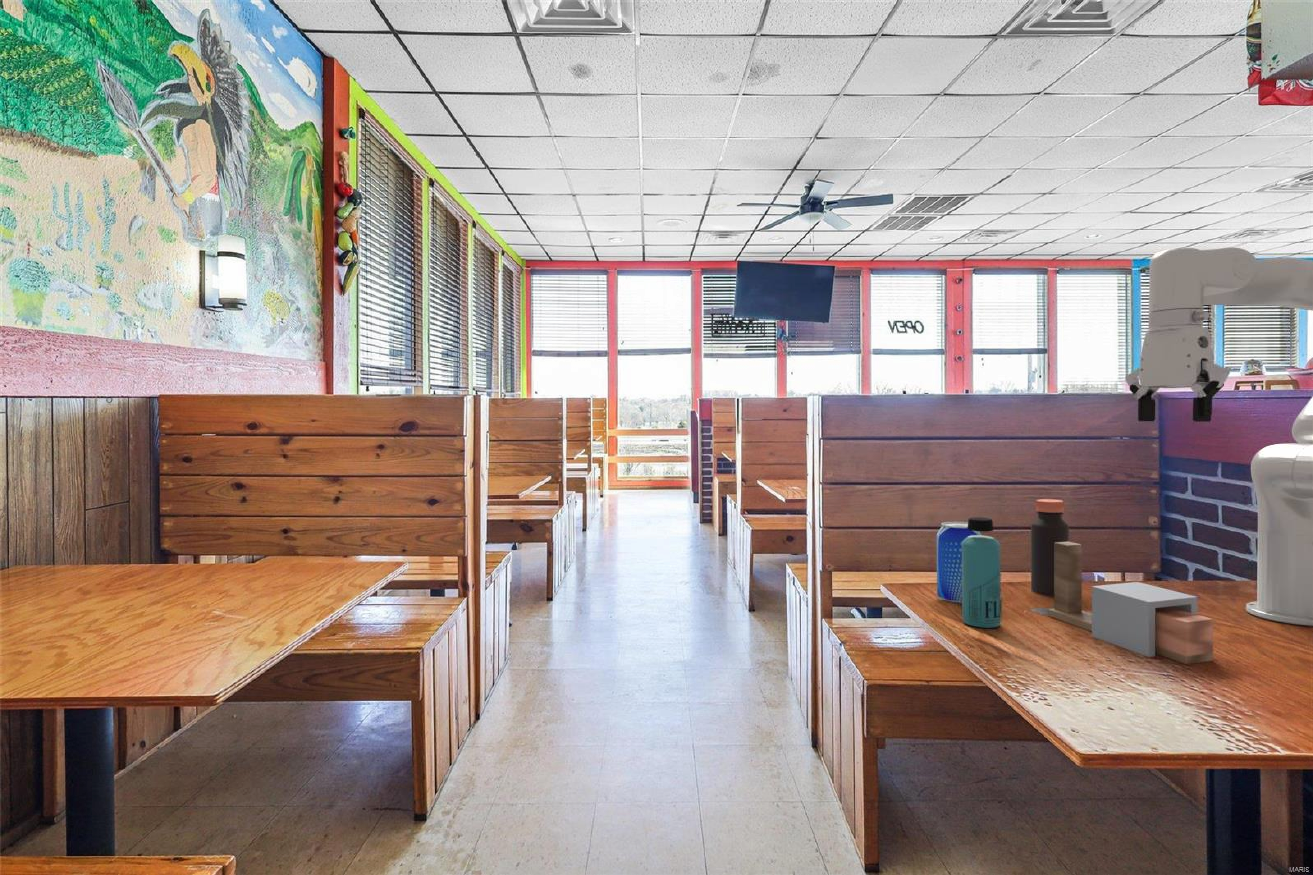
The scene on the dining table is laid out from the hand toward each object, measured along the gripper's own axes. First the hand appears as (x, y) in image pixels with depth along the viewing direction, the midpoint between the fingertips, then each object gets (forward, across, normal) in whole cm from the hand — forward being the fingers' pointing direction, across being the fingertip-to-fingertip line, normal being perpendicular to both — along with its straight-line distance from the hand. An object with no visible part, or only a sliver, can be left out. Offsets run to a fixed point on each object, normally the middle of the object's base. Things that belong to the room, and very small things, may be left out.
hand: (1173, 421), depth 119 cm
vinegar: (+36, +23, +3) cm, 43 cm away
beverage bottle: (+37, +9, +31) cm, 49 cm away
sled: (+35, -3, +15) cm, 38 cm away
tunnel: (+36, -7, +15) cm, 40 cm away
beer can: (+37, +25, +23) cm, 50 cm away
